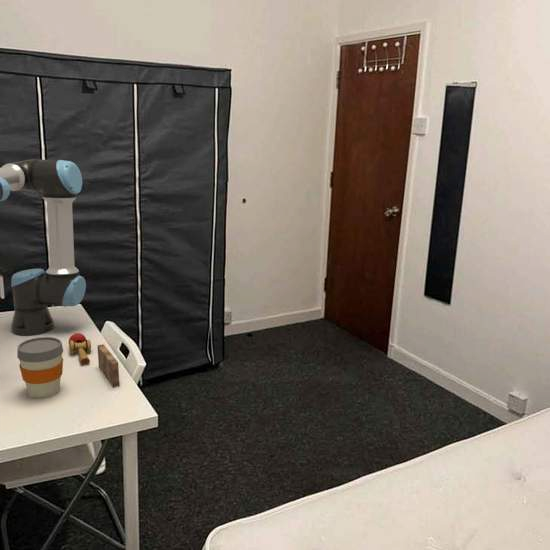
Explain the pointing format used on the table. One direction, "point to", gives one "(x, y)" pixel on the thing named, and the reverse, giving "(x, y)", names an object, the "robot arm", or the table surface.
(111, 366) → the board
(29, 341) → the reusable coffee cup
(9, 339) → the table surface
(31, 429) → the table surface
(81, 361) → the kendama
